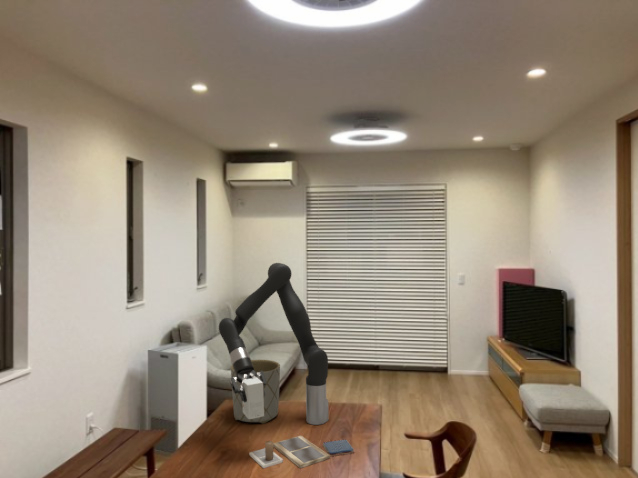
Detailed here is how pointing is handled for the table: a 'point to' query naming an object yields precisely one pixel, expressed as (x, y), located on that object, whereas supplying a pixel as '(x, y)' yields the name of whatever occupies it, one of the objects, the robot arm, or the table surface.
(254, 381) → the small box
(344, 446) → the woven mat
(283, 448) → the board
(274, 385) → the planter
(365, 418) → the table surface
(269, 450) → the plate
